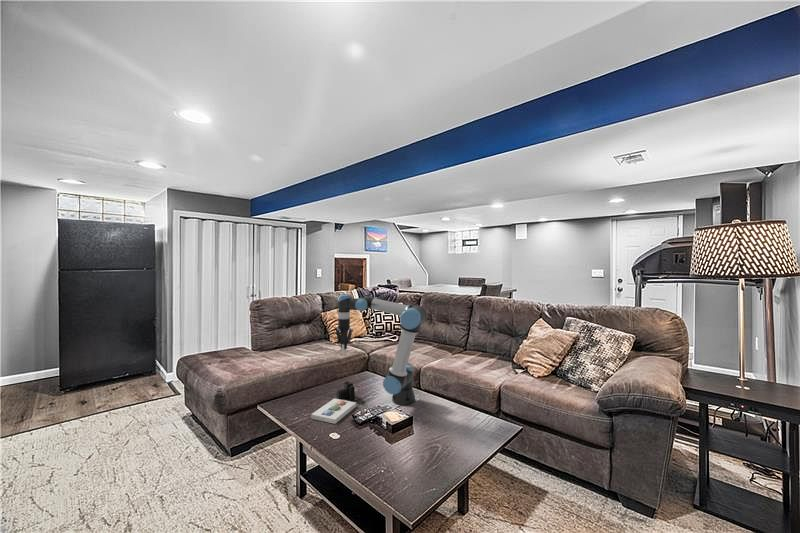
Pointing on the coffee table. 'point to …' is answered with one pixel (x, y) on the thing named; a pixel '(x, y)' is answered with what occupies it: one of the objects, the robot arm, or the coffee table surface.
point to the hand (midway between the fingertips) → (343, 353)
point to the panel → (335, 414)
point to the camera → (347, 392)
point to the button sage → (334, 406)
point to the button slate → (328, 412)
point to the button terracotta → (341, 403)
